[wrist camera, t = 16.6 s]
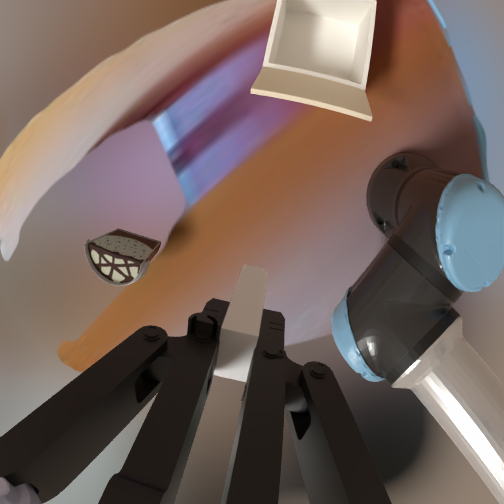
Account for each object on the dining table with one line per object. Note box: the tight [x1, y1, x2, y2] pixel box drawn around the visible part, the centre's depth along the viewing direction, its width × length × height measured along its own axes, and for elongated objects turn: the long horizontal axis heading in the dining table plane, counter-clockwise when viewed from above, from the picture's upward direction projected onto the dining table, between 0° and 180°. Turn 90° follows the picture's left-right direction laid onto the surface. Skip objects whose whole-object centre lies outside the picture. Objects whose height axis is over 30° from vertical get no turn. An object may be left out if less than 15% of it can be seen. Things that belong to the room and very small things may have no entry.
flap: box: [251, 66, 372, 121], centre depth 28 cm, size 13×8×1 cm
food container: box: [84, 229, 161, 286], centre depth 47 cm, size 12×6×10 cm, turn 75°
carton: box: [263, 0, 377, 90], centre depth 32 cm, size 13×15×10 cm
